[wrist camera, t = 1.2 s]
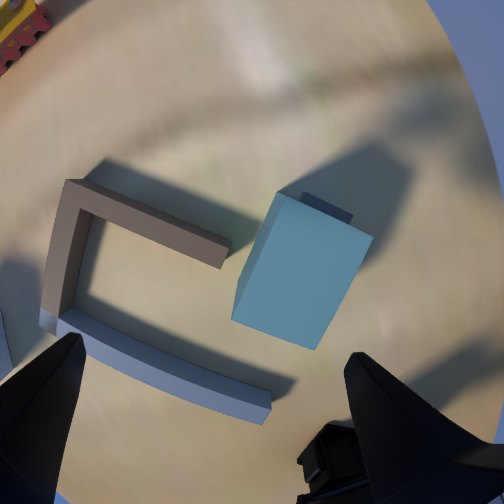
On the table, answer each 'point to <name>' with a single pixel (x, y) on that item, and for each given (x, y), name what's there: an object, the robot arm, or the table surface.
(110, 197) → the u-shaped bar frame
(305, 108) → the table surface
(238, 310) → the blue block with grip
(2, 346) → the small box
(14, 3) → the toy shop counter set
